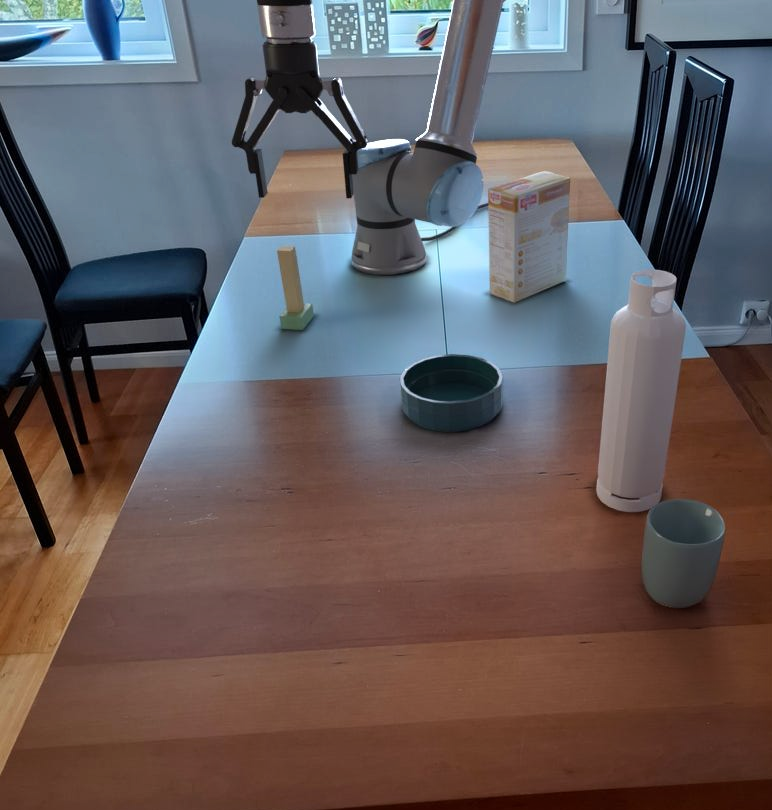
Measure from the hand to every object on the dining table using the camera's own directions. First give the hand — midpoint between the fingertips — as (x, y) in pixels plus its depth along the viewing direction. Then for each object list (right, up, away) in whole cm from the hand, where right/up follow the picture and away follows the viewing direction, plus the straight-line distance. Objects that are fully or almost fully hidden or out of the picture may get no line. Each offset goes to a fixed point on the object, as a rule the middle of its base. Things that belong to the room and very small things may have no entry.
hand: (306, 196), depth 127 cm
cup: (+48, -58, -39) cm, 85 cm away
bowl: (+23, -34, -7) cm, 42 cm away
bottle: (+46, -47, -25) cm, 70 cm away
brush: (-5, -16, +18) cm, 24 cm away
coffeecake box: (+36, -7, +29) cm, 47 cm away
